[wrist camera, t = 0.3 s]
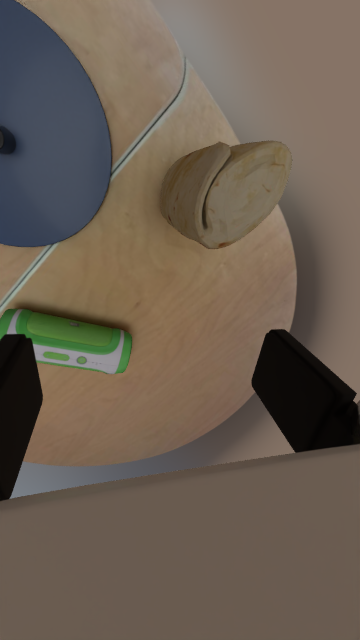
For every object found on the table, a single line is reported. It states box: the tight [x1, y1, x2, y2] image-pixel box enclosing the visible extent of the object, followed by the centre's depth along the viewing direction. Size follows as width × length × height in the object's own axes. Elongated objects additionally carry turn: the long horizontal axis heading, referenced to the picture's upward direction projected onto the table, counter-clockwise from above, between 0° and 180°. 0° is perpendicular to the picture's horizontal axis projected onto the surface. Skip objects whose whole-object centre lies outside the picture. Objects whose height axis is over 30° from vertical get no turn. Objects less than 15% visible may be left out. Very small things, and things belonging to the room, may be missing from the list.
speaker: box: [0, 309, 132, 374], centre depth 38 cm, size 18×7×8 cm, turn 69°
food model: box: [161, 141, 292, 249], centre depth 26 cm, size 10×7×20 cm
